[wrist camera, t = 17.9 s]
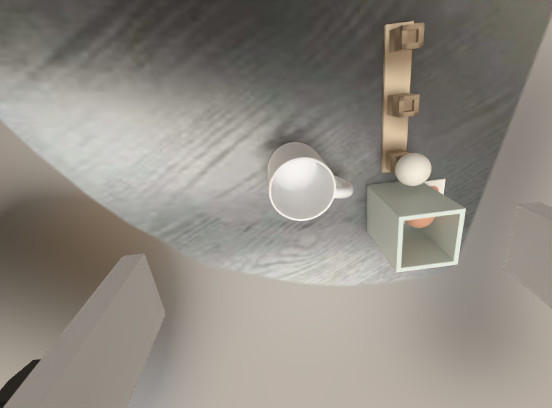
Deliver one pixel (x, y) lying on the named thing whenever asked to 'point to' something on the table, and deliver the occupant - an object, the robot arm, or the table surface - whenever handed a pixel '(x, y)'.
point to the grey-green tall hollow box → (408, 240)
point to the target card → (437, 184)
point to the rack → (398, 90)
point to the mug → (302, 182)
